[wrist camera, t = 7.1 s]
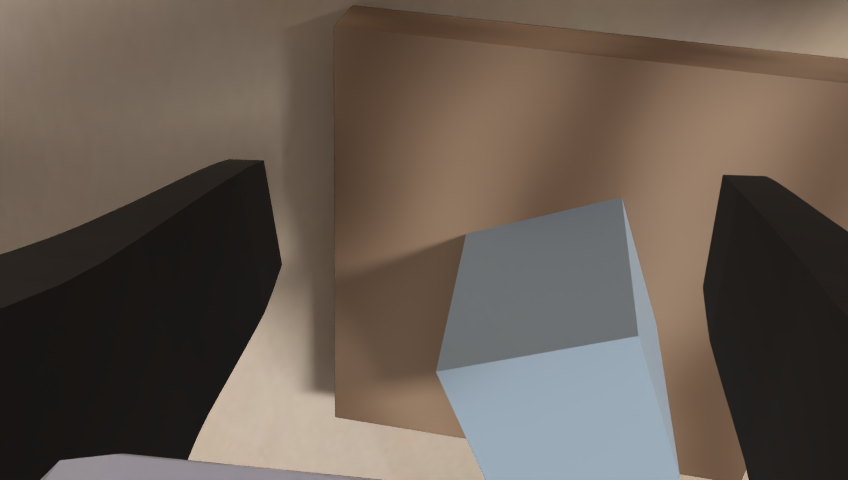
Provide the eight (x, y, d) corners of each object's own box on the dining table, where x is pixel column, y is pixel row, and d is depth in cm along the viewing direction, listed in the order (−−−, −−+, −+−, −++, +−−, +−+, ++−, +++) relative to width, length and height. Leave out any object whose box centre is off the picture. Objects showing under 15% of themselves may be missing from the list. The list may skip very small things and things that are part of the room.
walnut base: (879, 62, 20) (908, 89, 18) (729, 439, 27) (739, 483, 26) (352, 5, 21) (333, 26, 19) (348, 379, 29) (335, 417, 27)
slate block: (621, 197, 21) (638, 335, 16) (656, 324, 23) (681, 484, 18) (466, 233, 22) (435, 371, 17) (512, 351, 24) (497, 505, 19)
